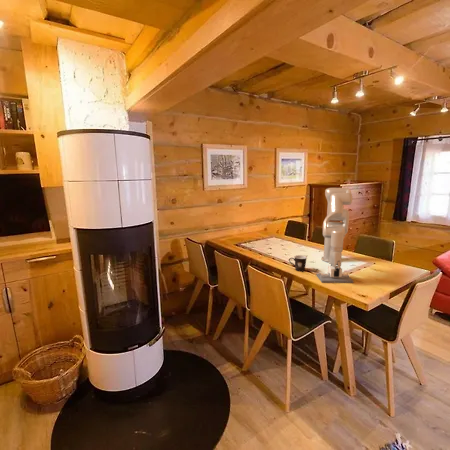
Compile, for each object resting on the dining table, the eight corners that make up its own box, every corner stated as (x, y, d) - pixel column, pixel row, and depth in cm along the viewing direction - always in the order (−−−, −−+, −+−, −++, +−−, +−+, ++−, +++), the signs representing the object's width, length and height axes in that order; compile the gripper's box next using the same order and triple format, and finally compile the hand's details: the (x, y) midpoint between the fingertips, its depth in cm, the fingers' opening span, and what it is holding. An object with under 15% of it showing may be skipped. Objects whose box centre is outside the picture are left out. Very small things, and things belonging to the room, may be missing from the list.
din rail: (320, 276, 183) (320, 273, 183) (347, 276, 183) (347, 273, 182) (321, 277, 181) (321, 275, 181) (348, 277, 180) (349, 275, 180)
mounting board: (316, 275, 188) (316, 273, 188) (345, 275, 188) (346, 273, 187) (321, 282, 177) (321, 280, 176) (353, 282, 176) (353, 280, 175)
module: (327, 273, 185) (328, 264, 184) (338, 273, 184) (338, 264, 183) (330, 276, 179) (331, 267, 178) (341, 277, 178) (342, 267, 177)
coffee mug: (308, 270, 199) (308, 256, 198) (302, 273, 194) (302, 259, 192) (294, 266, 208) (294, 253, 206) (288, 269, 202) (288, 256, 200)
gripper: (326, 245, 187) (324, 270, 190) (335, 252, 170) (333, 279, 173) (337, 245, 186) (335, 270, 190) (347, 252, 169) (345, 279, 173)
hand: (334, 274), depth 181 cm, fingers closed on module, 6 cm apart
